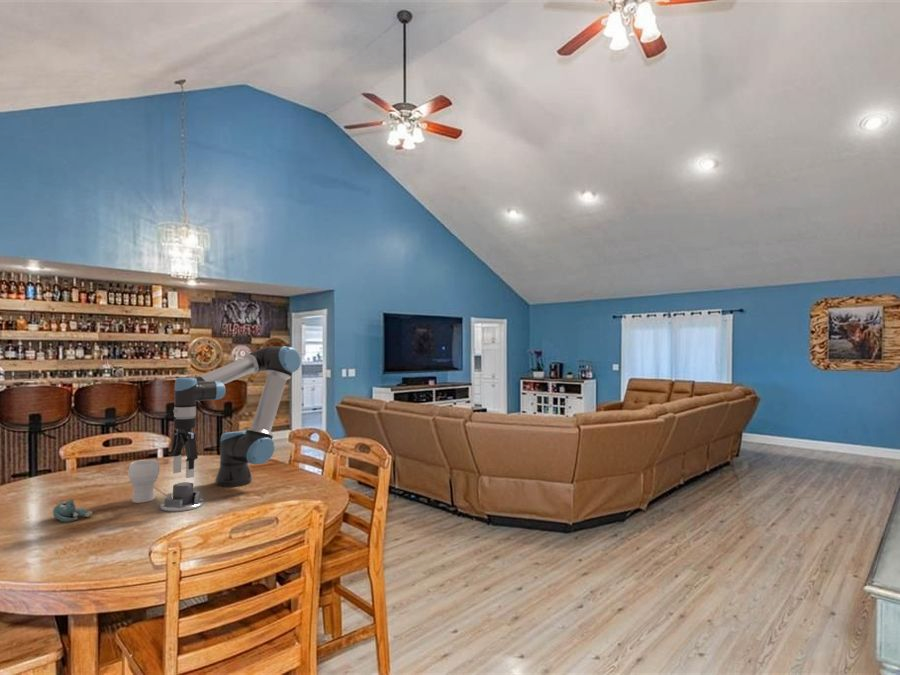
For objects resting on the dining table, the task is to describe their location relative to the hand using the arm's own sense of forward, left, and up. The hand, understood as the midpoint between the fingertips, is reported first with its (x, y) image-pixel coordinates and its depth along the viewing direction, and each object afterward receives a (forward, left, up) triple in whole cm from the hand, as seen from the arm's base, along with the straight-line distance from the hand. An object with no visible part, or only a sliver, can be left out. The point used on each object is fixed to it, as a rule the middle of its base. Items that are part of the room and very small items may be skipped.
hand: (183, 475), depth 197 cm
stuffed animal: (-14, -32, -12) cm, 37 cm away
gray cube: (0, 0, -11) cm, 11 cm away
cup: (-19, -7, -12) cm, 24 cm away
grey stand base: (0, 0, -12) cm, 12 cm away
